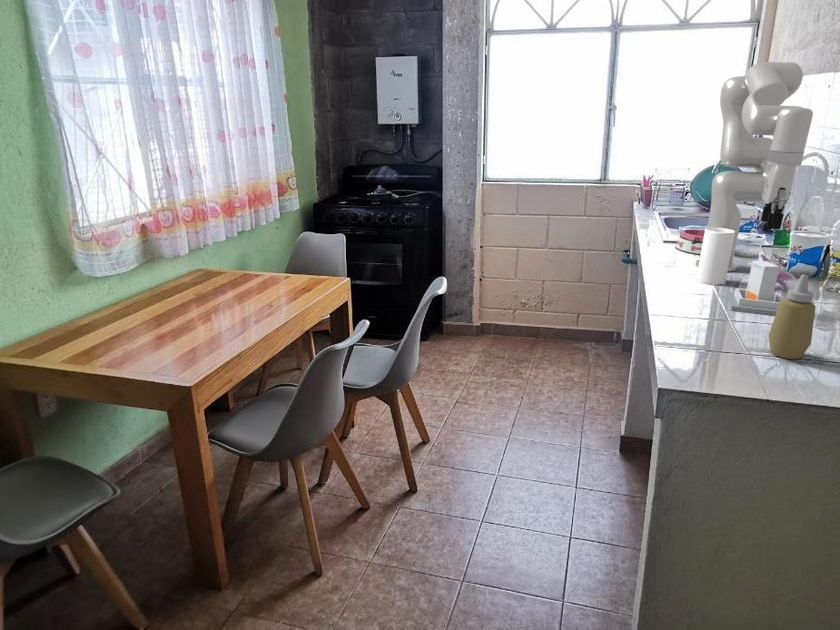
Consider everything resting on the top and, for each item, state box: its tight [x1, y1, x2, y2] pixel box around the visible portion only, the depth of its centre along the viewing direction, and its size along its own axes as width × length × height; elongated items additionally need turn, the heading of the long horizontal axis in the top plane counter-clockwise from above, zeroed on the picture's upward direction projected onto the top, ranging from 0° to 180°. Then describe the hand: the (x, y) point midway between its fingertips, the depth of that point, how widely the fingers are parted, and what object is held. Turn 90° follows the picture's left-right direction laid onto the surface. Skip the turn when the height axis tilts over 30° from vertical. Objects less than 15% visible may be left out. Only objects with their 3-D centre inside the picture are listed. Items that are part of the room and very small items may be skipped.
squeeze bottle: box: [768, 274, 816, 360], centre depth 129 cm, size 8×8×18 cm
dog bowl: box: [674, 228, 705, 256], centre depth 227 cm, size 18×19×7 cm
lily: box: [760, 253, 797, 291], centre depth 181 cm, size 12×12×10 cm
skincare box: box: [745, 260, 780, 302], centre depth 163 cm, size 6×4×12 cm
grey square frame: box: [725, 287, 784, 317], centre depth 164 cm, size 14×14×3 cm
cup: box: [695, 227, 735, 286], centre depth 185 cm, size 8×8×16 cm
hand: (770, 224), depth 161 cm, fingers open, 9 cm apart
